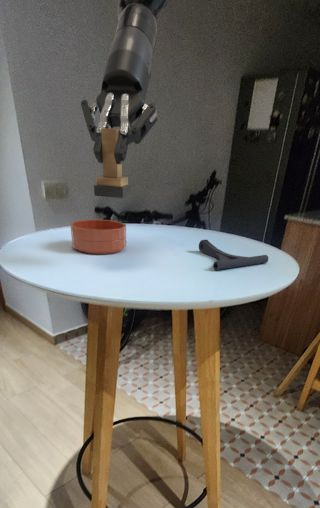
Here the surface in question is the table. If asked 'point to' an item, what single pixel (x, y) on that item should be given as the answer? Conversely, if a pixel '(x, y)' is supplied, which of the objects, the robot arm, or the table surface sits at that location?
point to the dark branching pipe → (229, 257)
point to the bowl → (98, 236)
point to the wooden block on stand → (111, 169)
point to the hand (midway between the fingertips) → (108, 159)
